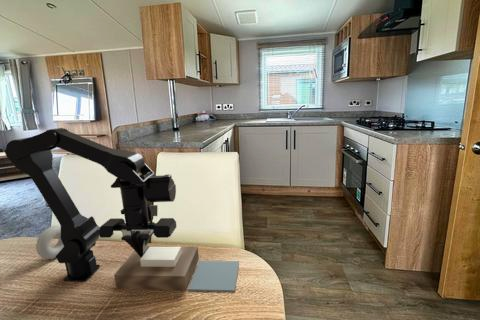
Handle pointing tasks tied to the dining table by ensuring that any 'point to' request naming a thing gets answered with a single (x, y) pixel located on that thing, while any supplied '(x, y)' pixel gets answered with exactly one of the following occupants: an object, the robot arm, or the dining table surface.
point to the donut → (45, 240)
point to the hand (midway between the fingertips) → (142, 256)
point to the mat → (215, 276)
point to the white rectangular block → (161, 257)
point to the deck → (157, 272)
